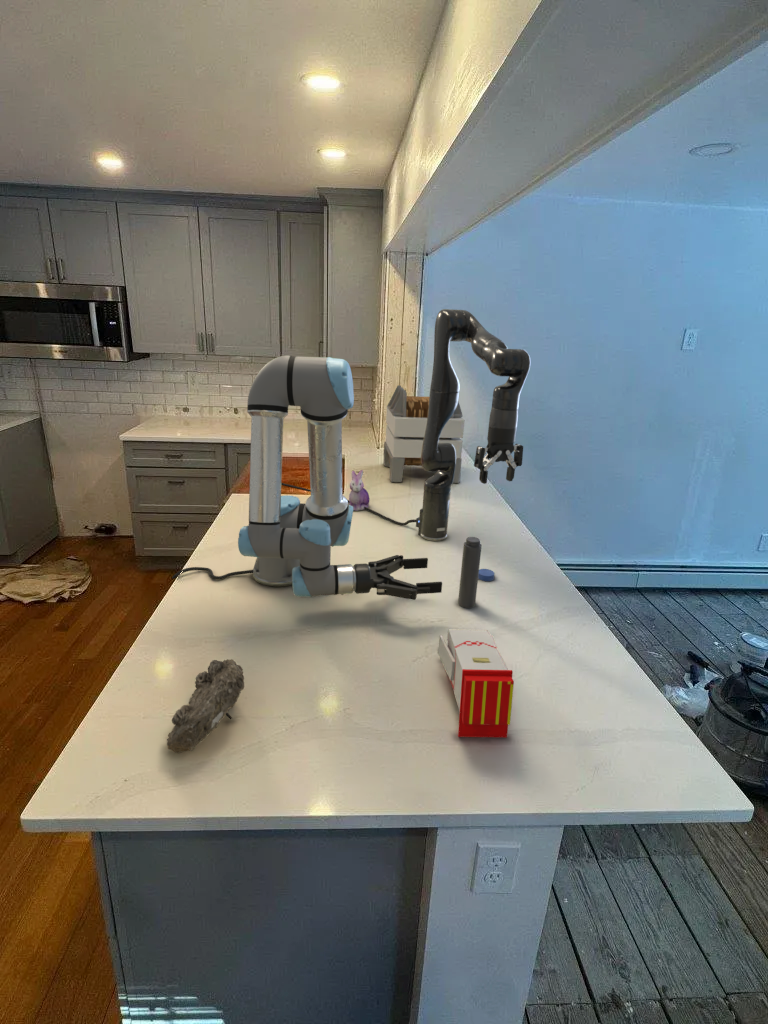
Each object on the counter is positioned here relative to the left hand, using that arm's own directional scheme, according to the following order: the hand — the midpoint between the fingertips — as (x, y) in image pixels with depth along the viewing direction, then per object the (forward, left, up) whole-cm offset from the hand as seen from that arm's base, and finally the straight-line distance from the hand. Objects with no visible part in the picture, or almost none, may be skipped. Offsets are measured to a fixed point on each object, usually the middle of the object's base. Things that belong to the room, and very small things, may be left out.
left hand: (434, 574), depth 148 cm
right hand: (+13, +23, +20) cm, 33 cm away
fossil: (-33, -55, -10) cm, 65 cm away
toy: (+13, -33, -10) cm, 37 cm away
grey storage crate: (-27, +128, -10) cm, 131 cm away
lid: (+13, +23, -8) cm, 28 cm away
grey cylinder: (+9, +5, -10) cm, 14 cm away
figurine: (-41, +70, -10) cm, 81 cm away
